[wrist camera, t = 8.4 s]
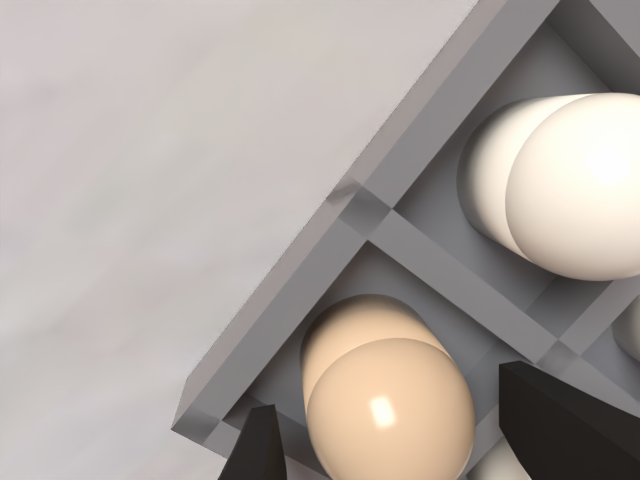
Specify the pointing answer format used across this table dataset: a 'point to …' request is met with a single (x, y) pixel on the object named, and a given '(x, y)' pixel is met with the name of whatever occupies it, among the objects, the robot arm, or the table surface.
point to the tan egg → (384, 394)
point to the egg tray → (437, 241)
